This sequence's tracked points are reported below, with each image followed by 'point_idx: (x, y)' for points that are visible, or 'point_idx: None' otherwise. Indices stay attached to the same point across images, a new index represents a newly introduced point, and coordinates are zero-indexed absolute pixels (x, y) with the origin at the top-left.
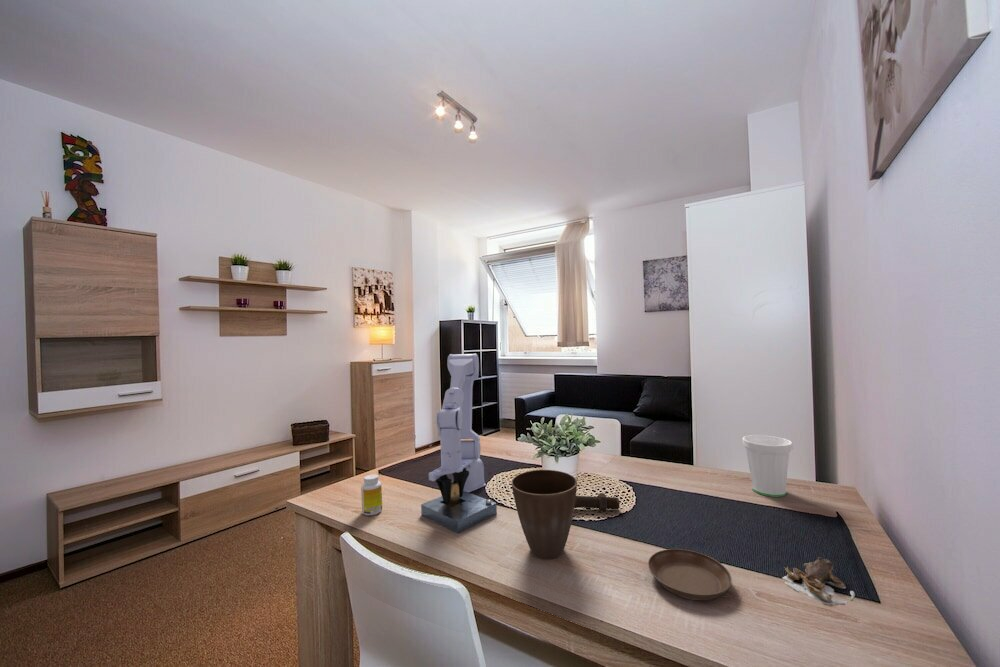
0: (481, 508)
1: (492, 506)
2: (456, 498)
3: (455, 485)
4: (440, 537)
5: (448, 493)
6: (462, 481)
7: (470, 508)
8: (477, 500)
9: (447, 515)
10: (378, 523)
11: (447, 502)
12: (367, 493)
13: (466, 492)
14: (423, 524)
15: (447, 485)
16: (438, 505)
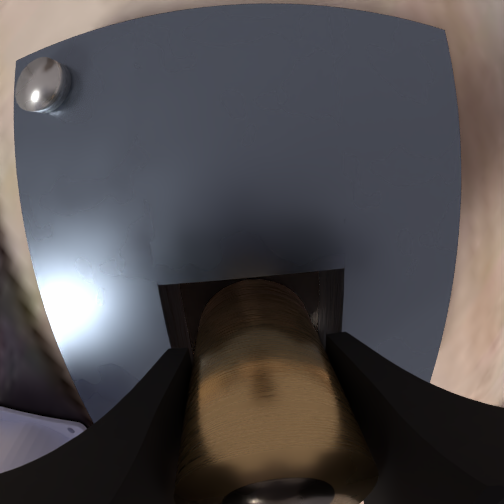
0: (160, 33)
1: (59, 47)
2: (266, 324)
3: (300, 438)
4: (477, 105)
5: (390, 371)
6: (133, 460)
7: (235, 103)
8: (77, 210)
9: (450, 162)
10: (492, 397)
11: (348, 335)
12: None
13: (87, 396)
14: (453, 292)
15: (489, 419)
16: None
